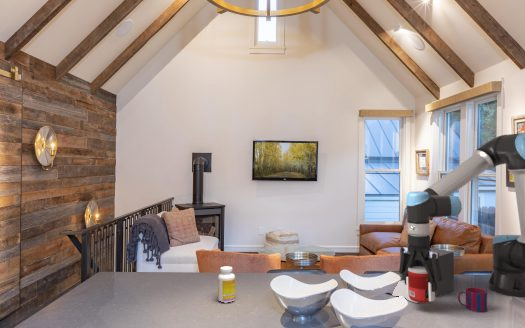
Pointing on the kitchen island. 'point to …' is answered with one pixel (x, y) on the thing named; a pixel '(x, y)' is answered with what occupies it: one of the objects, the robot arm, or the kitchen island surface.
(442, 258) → the housing
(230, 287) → the supplement bottle
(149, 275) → the kitchen island surface
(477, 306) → the mug
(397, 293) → the tray
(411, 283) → the canned food
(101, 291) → the kitchen island surface
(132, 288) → the kitchen island surface
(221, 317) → the kitchen island surface
